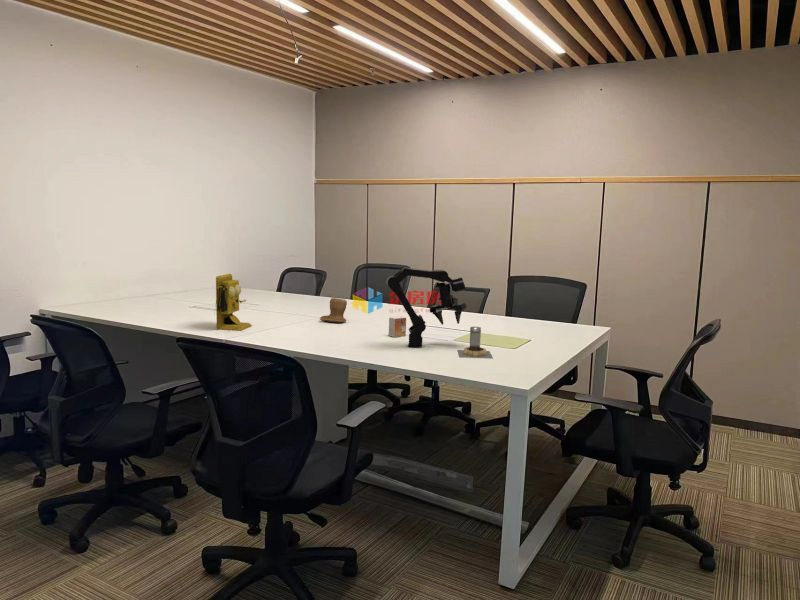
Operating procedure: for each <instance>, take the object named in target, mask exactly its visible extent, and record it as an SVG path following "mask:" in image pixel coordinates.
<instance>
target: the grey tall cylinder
mask: <svg viewBox="0 0 800 600" xmlns="http://www.w3.org/2000/svg"><path fill="white" fill-rule="evenodd" d="M469 332H470V333H469V347H470V349H469V350H471V351H480V347H481V334H482V328H481V326H470V330H469Z"/></svg>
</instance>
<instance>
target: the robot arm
mask: <svg viewBox="0 0 800 600" xmlns="http://www.w3.org/2000/svg"><path fill="white" fill-rule="evenodd" d="M406 277H416V278H425V279H431V280H435V281H436V283H434V285H433V287H434V288H437V289H438V294H439V298H438V300H439V301H440V304H434V305H431V306H430V307H429V309H428V310H429V313H432V315H434V316H435V317H436V319H437V320H438V321H439V322H440V325H444V319H443V313H442V312H443V311H445V310H454V315H455V321H456V323H457V324H460V320H461V315H462V312H463V311H464V310H465V309H467V304H466V303H465V302H459V301H458V300H459V299H458V298H457V297H454V296H453V294H452V292H453V293H460V292H465V291H466V285H465V282H464V279H463V277H458V278H454V279H452V278H451V277H450V276H449V273H448V272H447V271H446V270H444V269H433V270H432V269H431V270H427V269H419V268H418V269H417V268H409V267H406V266H405V267H403V268H401V269H400V270H399V271H398V272H396V273H395V274H394V275H390V276H388V277H387V279H386V281H385V282H386V285H387V286H388V287H389V289H390V290H391V291H392V292H393V293H394V295H396V297H397V299H398V300H399V302H400V303H401V305H402V307H403V309H404V310H405V311H406V313H407V315H408V316H409V320H410V322H411V326H410V327H409V328H408V331H409V333H408V347H409V348H422V346H423V336H422V333H423V332H424V331H425V330H426V327H427V326H426V324H427V322H426V321H425V320H424V318H423V315H421V314H417V313H416V311H415V309H414V308H413V306H412V304H411V302H410V301H409V299H408V298H407V296H406V295H405V293H404V292H403V289H402V286H401V282H402V281H403V280H405V278H406ZM445 282H446V283H445Z"/></svg>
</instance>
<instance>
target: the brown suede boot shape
mask: <svg viewBox="0 0 800 600" xmlns="http://www.w3.org/2000/svg"><path fill="white" fill-rule="evenodd" d="M347 304H348V302H347V300H346V299H342V298H336V297H331V298H330V300H329V312H330V313H329V315H328V314H327V315H322V316H320V318H319V320H320V321H323V322H327V323H346V321H347V318H345V317H344V314H345V312H346V309H347Z"/></svg>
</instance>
